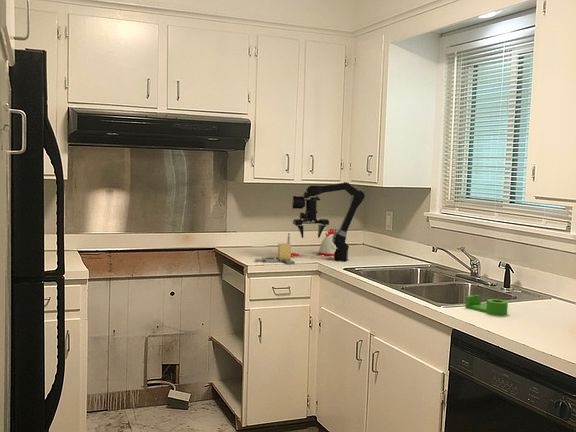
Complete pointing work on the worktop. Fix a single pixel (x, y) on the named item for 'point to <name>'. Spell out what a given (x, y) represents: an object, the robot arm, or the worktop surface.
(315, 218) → the robot arm
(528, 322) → the worktop surface
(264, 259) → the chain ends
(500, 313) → the green ring bracket
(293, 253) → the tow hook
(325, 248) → the kitchen timer
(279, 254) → the yellow block
